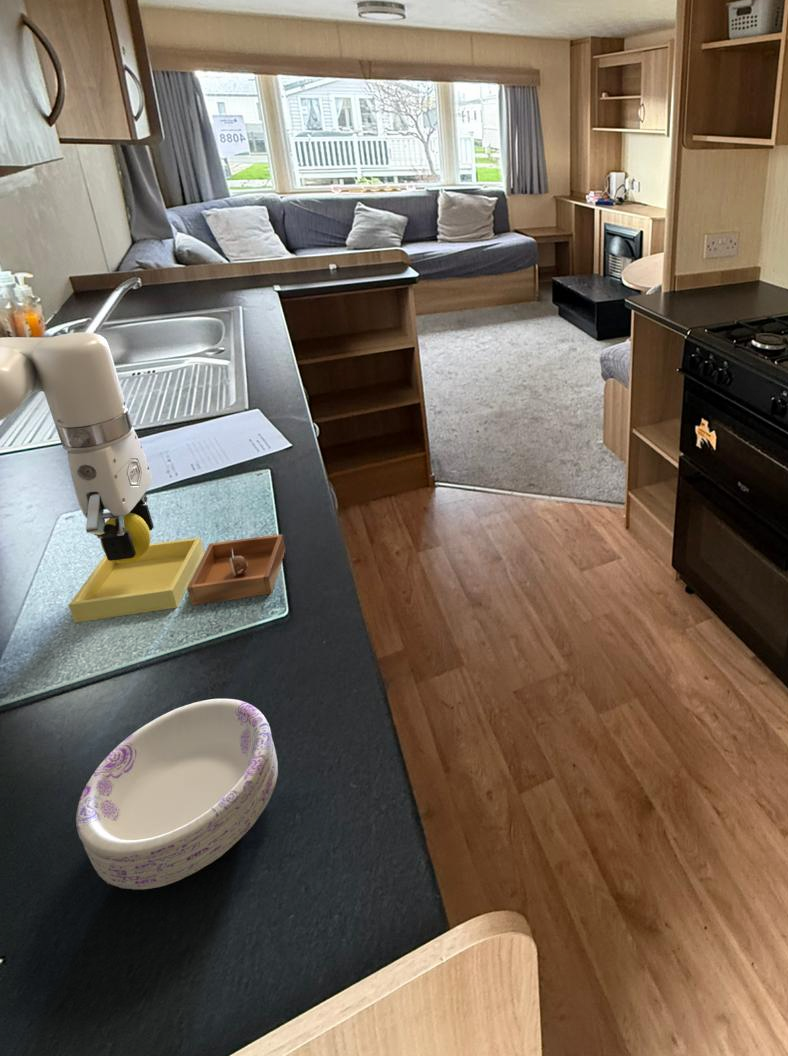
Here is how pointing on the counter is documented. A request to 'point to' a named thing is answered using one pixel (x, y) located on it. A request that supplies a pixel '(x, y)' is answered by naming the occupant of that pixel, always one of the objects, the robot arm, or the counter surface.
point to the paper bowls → (177, 793)
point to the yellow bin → (139, 582)
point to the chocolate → (238, 564)
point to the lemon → (135, 534)
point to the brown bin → (218, 577)
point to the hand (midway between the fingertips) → (131, 542)
